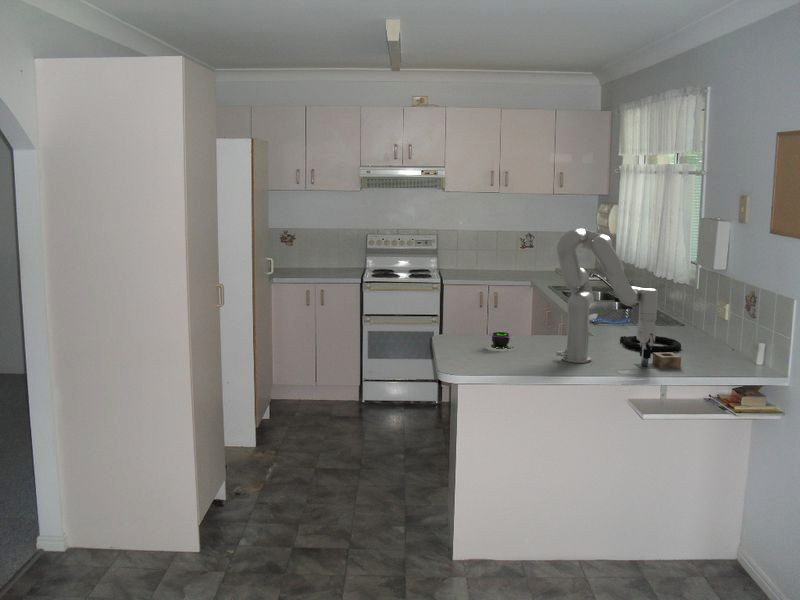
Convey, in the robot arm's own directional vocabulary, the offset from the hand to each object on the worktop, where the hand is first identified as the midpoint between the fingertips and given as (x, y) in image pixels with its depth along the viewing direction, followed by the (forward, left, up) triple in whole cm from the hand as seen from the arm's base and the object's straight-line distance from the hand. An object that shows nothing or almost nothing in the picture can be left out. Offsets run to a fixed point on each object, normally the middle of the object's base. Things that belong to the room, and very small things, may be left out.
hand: (645, 356), depth 347 cm
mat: (+6, 0, -5) cm, 8 cm away
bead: (+10, 0, -4) cm, 11 cm away
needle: (0, 0, -4) cm, 4 cm away
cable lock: (+19, +40, -5) cm, 45 cm away
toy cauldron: (-56, +41, -5) cm, 69 cm away
